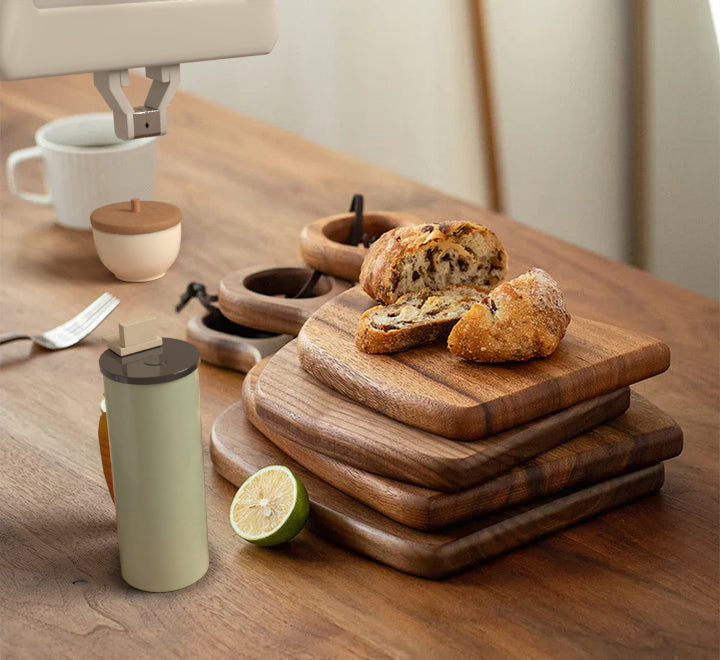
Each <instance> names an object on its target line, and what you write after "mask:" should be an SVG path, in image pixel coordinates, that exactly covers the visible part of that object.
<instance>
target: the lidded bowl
mask: <svg viewBox="0 0 720 660" xmlns="http://www.w3.org/2000/svg"><path fill="white" fill-rule="evenodd" d="M89 220H90V225H91V230H92V231H91V232H92V238H93V239H92V240H93V245H94V247H95V250H96V253H97V256H98V258H99V260H100V262H101V263H102V264H103V265H104V267H105V268H106V269H108V270H109V271H110V272H111V273H113V274H114V277H115V278H116V279H117V280H120V281H123V282H126V283H127V282H128V283H144V282H151V281H155V280H158V279H161V278H162V277H164V276H165V275H166V273H167V271H168V270H169V269H170V267H172V266H173V264H174V263H175V261H176V259H177V257H178V255H179V252H180V249H181V243H182V220H183V216H182V210H181V209H180V208H179V207H178V206H176V205H174V204H172V203H168V202H164V201H156V200H140V198H139V197H135V198H134V197H133V198H131V199H130V200H128V201H121V202H120V201H119V202H114V203H110V204H106V205H103V206H100V207H98V208H96V209H94V210H93V211H92V212H91V214H90V216H89Z"/></svg>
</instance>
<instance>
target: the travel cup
mask: <svg viewBox="0 0 720 660" xmlns="http://www.w3.org/2000/svg"><path fill="white" fill-rule="evenodd" d="M160 337H161V338H162V345H160V346H156V347H153V348H149V349H146V350H142V351H139V352H135V353H131V354H128V355H124V356H120V355H118V354H117V353H115V352H114V351H112V350H111V349H109V348H107V349H105V350H104V351H103V352H102V353H101V354H100V356H99V358H98V369H99V372H100V373H101V375H102V382H103V394H104V395H105V396H104V395H103V396H104V404H105V412H106V416H107V426H108V437H109V448H110V458H111V469H112V480H113V490H114V501H115V505H114V511H115V520H116V521H115V522H116V532H117V542H118V551H119V552H118V553H119V563H120V573H121V576H122V578H123V580H124V581H125V582H126V583H127V584H128V585H130V586H131V587H133V588H135V589H138V590H141V591H144V592H151V593H167V592H174V591H179V590H181V589H184V588H187V587H190V586H191V585H193V584H195V583H197V582H198V581H200V579H202V578H203V577H204V576H205V574H206V573H207V572H208V569H209V567H210V549H209V548H210V547H209V532H208V531H209V529H208V514H207V495H206V493H207V492H206V481H205V480H206V477H205V463H204V462H205V459H204V441H203V424H202V423H203V422H202V405H201V387H200V386H201V385H200V372H199V371H200V369H199V367H200V365H201V361H202V359H201V358H202V357H201V356H202V355H201V352H200V350H199V348H198V347H197V346H196V345H195V344H194V343H191V342H189V341H187V340H183V339H179V338H176V337H175V338H174V337H164V336H160Z"/></svg>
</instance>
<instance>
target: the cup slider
mask: <svg viewBox="0 0 720 660" xmlns="http://www.w3.org/2000/svg"><path fill="white" fill-rule="evenodd" d="M161 337H162V336H159V335H158V327H157V317H155V316H154V315H152V314H150V315H144V316H141V317H138V318H134V319H129V320H126V321H123V322H119V323H118V332H114V333H111V334H106V335H103V336H101V337H100V339H101V344H102V345H103V346H105V347H106V348H107V349H111V350H112V351H114V352H115V353H117V354H118V355H120V356H124V355H128V354H131V353H135V352H139V351H142V350H146V349H149V348H153V347H156V346H160V345H162V338H161Z"/></svg>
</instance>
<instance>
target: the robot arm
mask: <svg viewBox="0 0 720 660" xmlns="http://www.w3.org/2000/svg"><path fill="white" fill-rule="evenodd" d="M278 11H279V10H278V3H277V0H0V81H1V82H13V81H14V82H15V81H26V80H34V79H44V78H55V77H63V76H71V75H73V76H74V75H83V74H92V76H93V77H92V78H93V85H94V87H95V88H96V90H97V91H98V93H99V94H100V96H101V97H102V98H103V100H104V102H105V104H107V107H108V108H109V110H111V111H112V115H113V128H114V133H115V137H116V138H117V139H119V140H121V141H124V142H127V141H134V140H140V139H147V138H154V137H155V138H156V137H162V136H165V135H167V133H168V120H167V109H168V108H169V107H170V104H171V103H172V100H173V99H174V96H175V94H176V93H177V90H178V88H179V85H180V83H181V64H189V63H199V62H208V61H209V62H210V61H217V60H226V59H237V58H246V57H257V56H265V55H269V54H271V52H273V49H274V47H275V45H276V43H277V42H278V40H279V38H280V25H279V23H280V22H279V12H278ZM142 68H144V71H145V77H146V78H147V79H149V80H152V82H151V85H150V88H149V90H148V92H147V95H146V98H145V101H144V103H143V105H140V106H139V105H138V106H132V105H131V103H130V101H129V99H128V98H127V96H126V95H125V93H124V91H123V89H122V88H127V87H129V85H130V78H129V75H130V74H129V70H132V69H142Z"/></svg>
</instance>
